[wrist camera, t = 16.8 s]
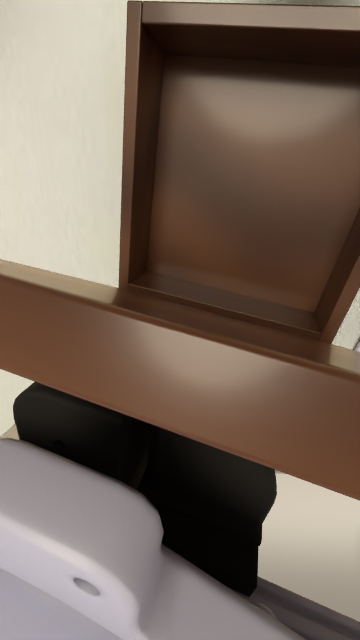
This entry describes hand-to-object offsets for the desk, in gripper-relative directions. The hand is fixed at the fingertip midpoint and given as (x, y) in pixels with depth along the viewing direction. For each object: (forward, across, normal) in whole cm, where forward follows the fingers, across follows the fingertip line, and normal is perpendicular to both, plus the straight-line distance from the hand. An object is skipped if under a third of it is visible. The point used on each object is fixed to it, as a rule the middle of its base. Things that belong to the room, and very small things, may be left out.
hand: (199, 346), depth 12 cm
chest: (+8, 0, -6) cm, 10 cm away
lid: (-2, 0, -3) cm, 3 cm away
